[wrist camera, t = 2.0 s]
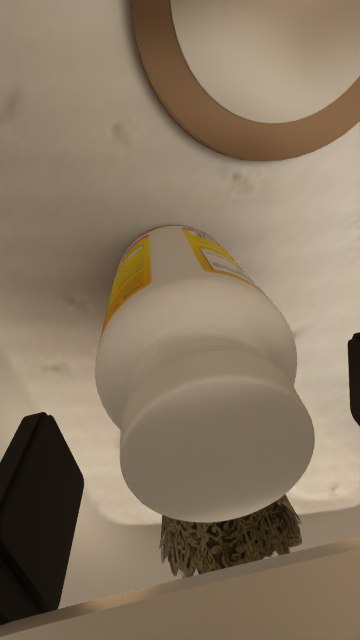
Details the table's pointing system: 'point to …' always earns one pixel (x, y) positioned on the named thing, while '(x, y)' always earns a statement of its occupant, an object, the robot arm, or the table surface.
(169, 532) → the brown scalloped shell
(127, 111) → the table surface
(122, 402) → the supplement bottle
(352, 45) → the plate
